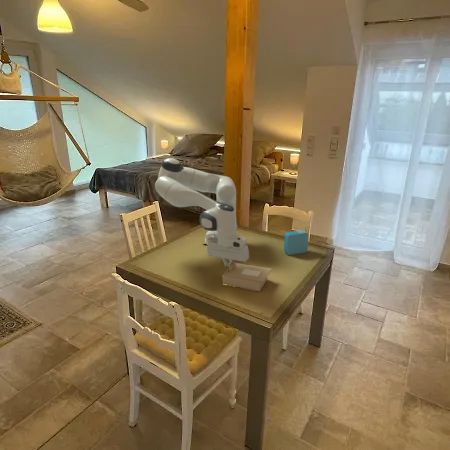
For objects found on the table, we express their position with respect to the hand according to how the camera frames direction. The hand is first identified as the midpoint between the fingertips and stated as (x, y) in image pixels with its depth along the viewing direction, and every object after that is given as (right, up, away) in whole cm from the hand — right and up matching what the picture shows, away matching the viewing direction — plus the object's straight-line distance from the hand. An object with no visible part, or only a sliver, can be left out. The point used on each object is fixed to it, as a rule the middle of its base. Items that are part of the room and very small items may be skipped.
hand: (228, 266), depth 166 cm
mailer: (+8, -7, -1) cm, 11 cm away
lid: (+9, -3, -3) cm, 10 cm away
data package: (+38, +4, +28) cm, 47 cm away
